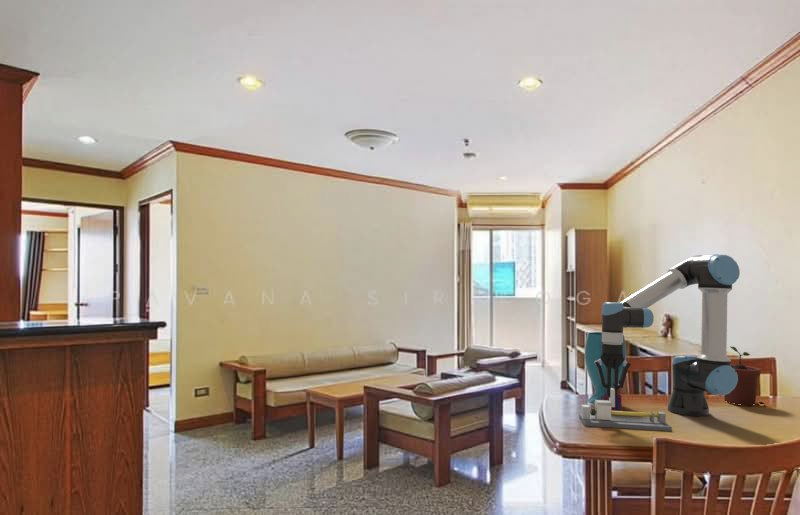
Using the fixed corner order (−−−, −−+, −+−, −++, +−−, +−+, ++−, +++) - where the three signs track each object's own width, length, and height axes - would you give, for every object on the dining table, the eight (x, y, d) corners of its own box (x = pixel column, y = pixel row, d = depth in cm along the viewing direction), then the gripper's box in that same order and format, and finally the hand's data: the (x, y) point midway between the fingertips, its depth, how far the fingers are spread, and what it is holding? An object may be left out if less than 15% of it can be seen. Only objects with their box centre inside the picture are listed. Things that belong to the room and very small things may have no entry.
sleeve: (608, 416, 206) (608, 400, 206) (611, 420, 202) (611, 403, 202) (594, 416, 207) (594, 399, 207) (597, 419, 202) (597, 402, 203)
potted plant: (708, 400, 248) (708, 345, 249) (738, 396, 258) (738, 343, 259) (747, 408, 233) (747, 350, 233) (777, 404, 242) (777, 348, 243)
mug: (624, 413, 220) (625, 396, 221) (604, 414, 217) (605, 397, 217) (613, 409, 227) (613, 392, 227) (593, 410, 223) (593, 394, 224)
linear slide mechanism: (661, 422, 207) (661, 406, 207) (671, 431, 195) (671, 414, 195) (579, 417, 211) (579, 402, 211) (585, 425, 199) (585, 409, 200)
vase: (586, 405, 233) (587, 335, 234) (582, 396, 250) (582, 331, 251) (629, 408, 229) (629, 336, 230) (621, 399, 246) (622, 332, 247)
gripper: (627, 342, 207) (627, 405, 207) (592, 341, 209) (591, 403, 209) (633, 345, 200) (632, 409, 199) (596, 343, 202) (595, 407, 201)
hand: (611, 406), depth 204 cm, fingers closed
